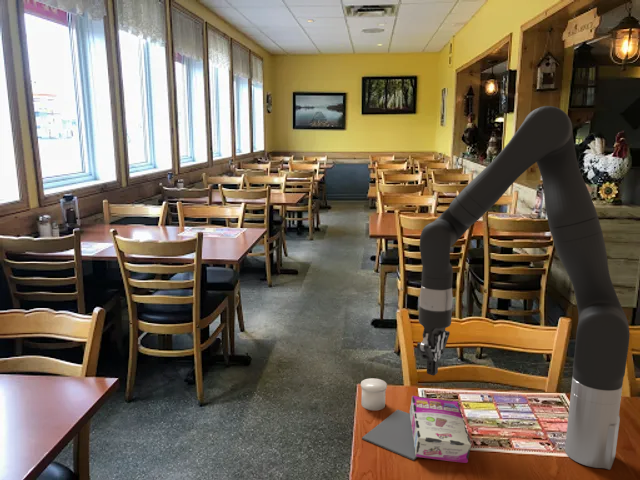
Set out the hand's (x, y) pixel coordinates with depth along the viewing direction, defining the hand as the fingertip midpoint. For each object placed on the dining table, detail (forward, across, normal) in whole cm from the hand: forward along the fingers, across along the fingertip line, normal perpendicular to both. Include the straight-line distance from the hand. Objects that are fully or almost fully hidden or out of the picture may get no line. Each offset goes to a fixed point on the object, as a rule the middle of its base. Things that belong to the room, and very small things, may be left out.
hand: (432, 373), depth 125 cm
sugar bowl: (+11, -4, +14) cm, 18 cm away
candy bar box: (+7, -2, -2) cm, 8 cm away
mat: (+11, -11, +1) cm, 16 cm away
